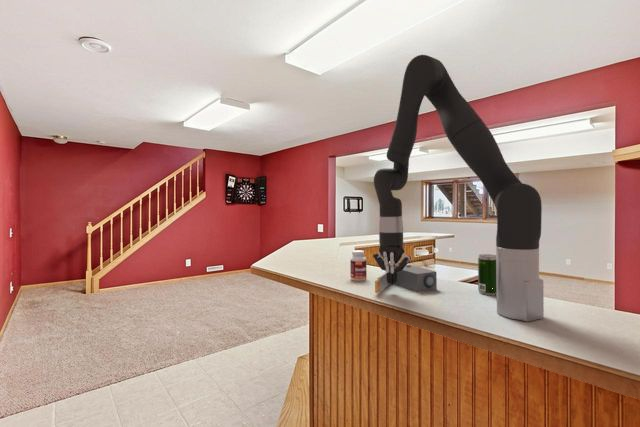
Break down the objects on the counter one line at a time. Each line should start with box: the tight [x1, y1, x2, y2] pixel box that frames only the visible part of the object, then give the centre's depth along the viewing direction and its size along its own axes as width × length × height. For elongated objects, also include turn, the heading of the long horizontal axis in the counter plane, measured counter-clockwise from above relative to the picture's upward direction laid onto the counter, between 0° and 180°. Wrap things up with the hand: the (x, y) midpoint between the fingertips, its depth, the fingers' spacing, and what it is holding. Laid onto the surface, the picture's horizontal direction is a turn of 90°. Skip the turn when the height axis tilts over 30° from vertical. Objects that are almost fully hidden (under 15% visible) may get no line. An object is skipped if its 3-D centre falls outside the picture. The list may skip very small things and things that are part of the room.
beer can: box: [477, 253, 497, 296], centre depth 100 cm, size 5×5×12 cm
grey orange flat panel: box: [374, 271, 390, 294], centre depth 108 cm, size 18×1×5 cm, turn 153°
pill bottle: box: [349, 249, 367, 282], centre depth 122 cm, size 6×6×11 cm
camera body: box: [394, 263, 438, 293], centre depth 110 cm, size 15×8×7 cm, turn 22°
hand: (391, 284), depth 102 cm, fingers closed
